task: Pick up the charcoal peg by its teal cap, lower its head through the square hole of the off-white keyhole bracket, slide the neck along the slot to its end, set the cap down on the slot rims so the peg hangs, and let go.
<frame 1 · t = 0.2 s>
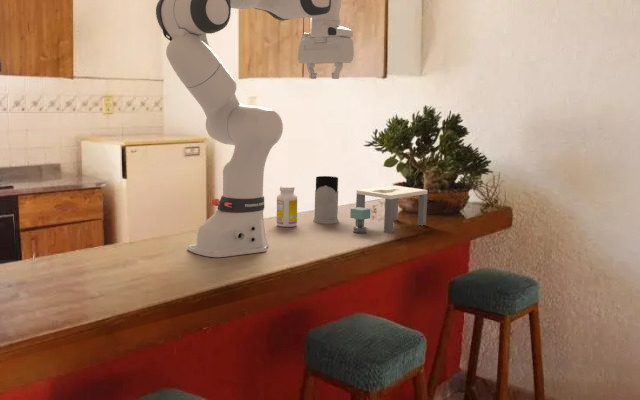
hand: (323, 78, 200), 47 cm above the counter, fingers open, 8 cm apart
supplement bottle: (286, 226, 216), on the counter
keyhole bracket: (391, 225, 220), on the counter
keyhole peg: (359, 232, 209), on the counter
glass holder: (326, 220, 228), on the counter
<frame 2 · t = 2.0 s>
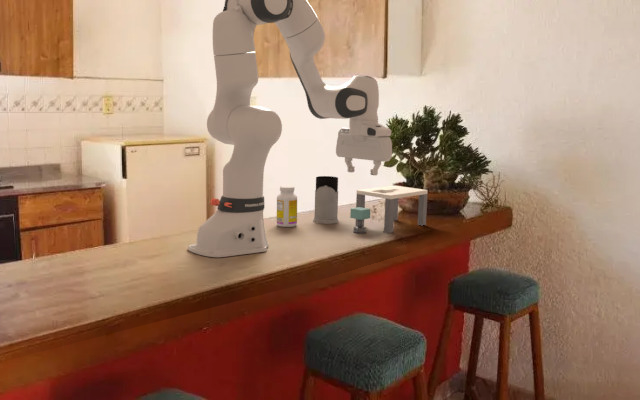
hand: (362, 173, 206), 19 cm above the counter, fingers open, 8 cm apart
nothing on the counter moved.
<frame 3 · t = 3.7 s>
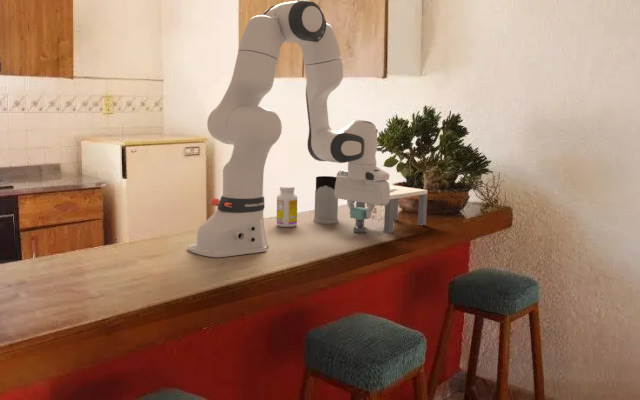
hand: (360, 216, 208), 5 cm above the counter, fingers closed on keyhole peg, 4 cm apart
keyhole peg: (359, 232, 209), on the counter, touching gripper
everything else where it was.
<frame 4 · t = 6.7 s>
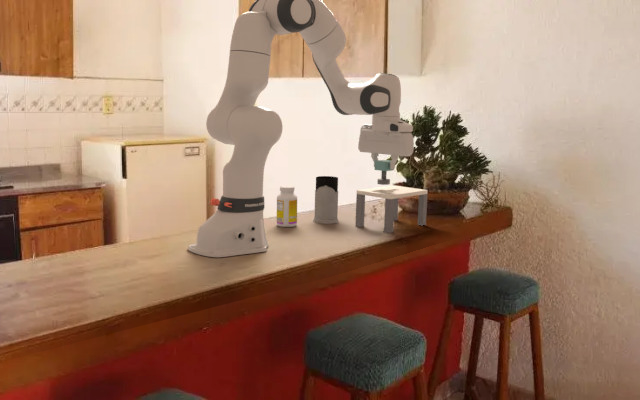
hand: (384, 168, 214), 20 cm above the counter, fingers closed on keyhole peg, 4 cm apart
keyhole peg: (383, 183, 215), point 14 cm above the counter, touching gripper
everything else where it was.
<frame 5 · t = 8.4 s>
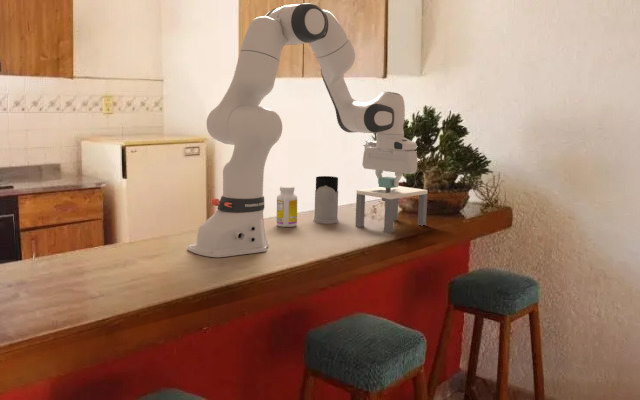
hand: (388, 185, 216), 14 cm above the counter, fingers closed on keyhole peg, 4 cm apart
keyhole peg: (387, 200, 217), point 9 cm above the counter, touching gripper
everything else where it was.
when the fingers open (13 cm above the counter, at t = 10.0 s): keyhole peg stays where it is, resting on keyhole bracket.
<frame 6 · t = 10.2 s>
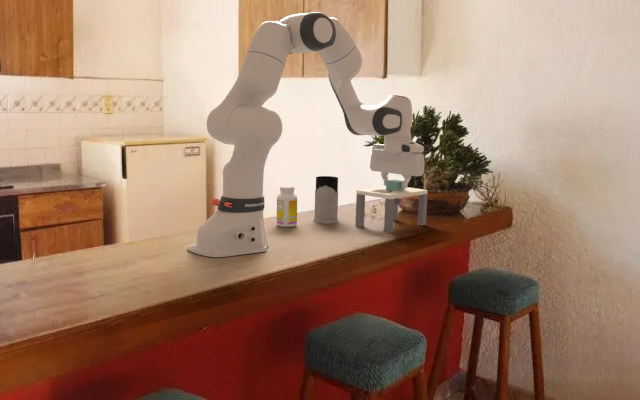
hand: (395, 187, 219), 13 cm above the counter, fingers open, 6 cm apart
keyhole peg: (394, 203, 220), point 7 cm above the counter, touching keyhole bracket
everything else where it was.
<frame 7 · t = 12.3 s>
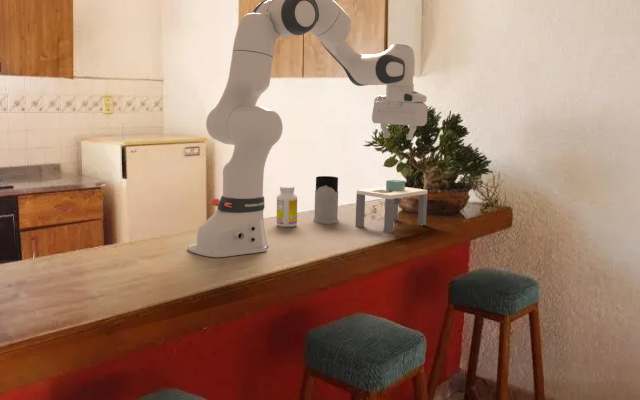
hand: (397, 138, 217), 29 cm above the counter, fingers open, 8 cm apart
nothing on the counter moved.
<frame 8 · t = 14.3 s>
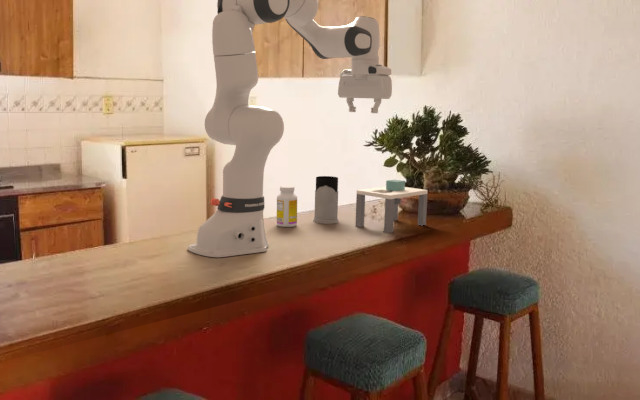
hand: (363, 112, 215), 37 cm above the counter, fingers open, 8 cm apart
nothing on the counter moved.
at the end: keyhole peg 0.0 cm from the target spot on the keyhole bracket, point 7.5 cm above the keyhole bracket's base; keyhole peg touching keyhole bracket; the gripper is holding nothing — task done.
